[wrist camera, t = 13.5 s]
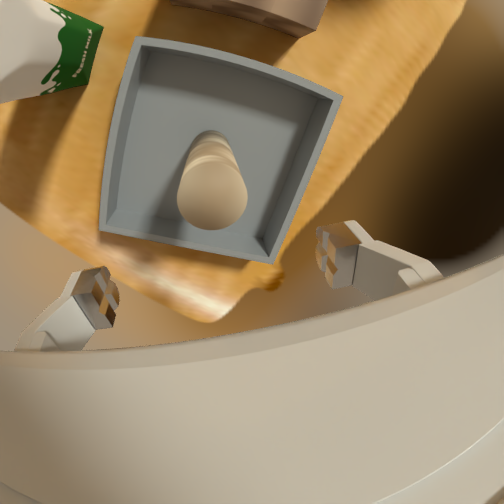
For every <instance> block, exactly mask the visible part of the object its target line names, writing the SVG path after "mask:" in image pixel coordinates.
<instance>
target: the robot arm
mask: <svg viewBox="0 0 504 504" xmlns="http://www.w3.org/2000/svg"><path fill="white" fill-rule="evenodd" d="M316 237H317V239H318V240H319V243H318V245H317V246H316V258H317V262H318V265H319V267H320V269H321V270H322V271H324V272H326V275H325V278H326V280H327V282H328V283H329V285H330V287H331V289H336V288H341V287H345V286H350V285H353V287H355V288H356V289H358V290H359V291H361V292H362V293H364V294H366V295H367V296H369V297H370V298H372V299H373V300H375V301H372V302H368V303H365V304H361V305H358V306H354V307H351V308H347V309H343V310H339V311H336V312H332V313H328V314H324V315H320V316H316V317H311V318H307V319H303V320H298V321H294V322H289V323H285V324H281V325H276V326H271V327H265V328H261V329H255V330H250V331H245V332H239V333H234V334H228V335H222V336H216V337H210V338H203V339H197V340H190V341H183V342H175V343H167V344H159V345H149V346H139V347H129V348H117V349H103V350H86V351H81V350H82V349H83V347H84V346H85V344H86V343H87V342H88V340H89V339H90V337H91V336H92V335H93V333H94V332H95V330H97V329H103V328H110V327H113V324H114V320H115V316H116V314H115V312H114V310H115V309H116V308H117V307H118V305H119V292H118V288H117V286H116V284H115V283H114V282H113V281H111V280H110V275H111V274H110V272H109V270H108V269H107V267H105V266H101V267H95V268H90V269H84V270H79V271H75V272H73V273H72V274H71V276H70V278H69V280H68V282H67V284H66V286H65V288H64V290H63V292H62V295H61V296H60V298H57V299H56V300H55V301H54V302H52V303H51V304H50V305H49V306H48V307H47V308H46V309H45V310H44V311H43V312H42V313H41V314H40V315H39V316H38V317H37V318H35V320H33V321H32V322H31V323H30V324H29V325H28V326H27V327H26V328H25V329H24V330H23V331H22V333H21V335H20V337H19V340H18V342H17V344H16V347H15V349H14V351H0V504H504V255H500V256H497V257H495V258H493V259H491V260H488V261H486V262H484V263H481V264H479V265H476V266H474V267H471V268H469V269H466V270H464V271H461V272H459V273H456V274H454V275H451V276H448V277H445V278H444V276H443V275H442V274H441V273H440V272H439V271H438V270H437V269H436V268H435V267H434V265H433V264H432V263H430V261H428V260H425V259H423V258H421V257H418V256H416V255H413V254H411V253H408V252H406V251H404V250H401V249H399V248H396V247H393V246H391V245H388V244H386V243H383V242H380V241H374V240H373V239H372V238H371V237H370V236H369V235H368V234H367V232H366V231H365V230H364V229H363V228H362V227H361V226H360V225H359V224H358V223H357V222H356V221H354V220H351V221H346V222H342V223H336V224H332V225H326V226H321V227H317V231H316Z"/></svg>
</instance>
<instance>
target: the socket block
mask: <svg viewBox="0 0 504 504" xmlns="http://www.w3.org/2000/svg"><path fill="white" fill-rule="evenodd" d="M327 2H328V0H170V3H171V5H178V6H185V7H191V8H197V9H202V10H207V11H212V12H217V13H221V14H225V15H229V16H233V17H237V18H241V19H244V20H248V21H251V22H254V23H258V24H261V25H264V26H267V27H270V28H273V29H275V30H278V31H281V32H284V33H286V34H289V35H291V36H294V37H296V38H301V37H303V36H305V35H307V34H309V33H312V32H314V31H316V29H317V27H318V24H319V22H320V19H321V17H322V14H323V12H324V9H325V7H326V4H327Z"/></svg>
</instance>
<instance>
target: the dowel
mask: <svg viewBox="0 0 504 504" xmlns="http://www.w3.org/2000/svg"><path fill="white" fill-rule="evenodd" d="M247 199H248V196H247V189H246V186H245V184H244V181H243V178H242V176H241V173H240V171H239V168H238V165H237V163H236V160H235V158H234V155H233V152H232V150H231V147H230V145H229V142H228V140H227V138H226V137H225V136H224V135H223V134H222V133H220V132H218V131H213V130H209V131H204V132H202V133H200V134H199V135H197V136H196V137H195V139H194V140H193V142H192V145H191V148H190V151H189V155H188V158H187V161H186V164H185V168H184V171H183V174H182V178H181V181H180V185H179V189H178V192H177V204H178V208H179V211H180V213H181V215H182V216H183V217H184V219H185V220H186V221H187V222H189V223H190V224H191V225H193V226H195V227H197V228H200V229H203V230H219V229H223V228H226V227H228V226H230V225H232V224H233V223H235V222H236V221H237V220H238V219H239V218H240V217H241V215H242V214H243V212H244V210H245V208H246V205H247Z"/></svg>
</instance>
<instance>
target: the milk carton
mask: <svg viewBox="0 0 504 504" xmlns="http://www.w3.org/2000/svg"><path fill="white" fill-rule="evenodd" d="M103 28H104V27H103V26H101V25H99V24H96V23H94V22H92V21H90V20H88V19H85V18H83V17H81V16H79V15H76V14H74V13H72V12H69V11H67V10H65V9H63V8H60V7H58V6H55V5H53V4H50V3H48V2H45V1H42V0H0V104H1V103H5V102H9V101H14V100H18V99H23V98H29V97H34V96H40V95H44V94H49V93H53V92H57V91H60V90H64V89H68V88H72V87H77V86H81V85H86V84H88V83H89V78H90V74H91V69H92V65H93V61H94V58H95V54H96V50H97V47H98V43H99V40H100V37H101V34H102V31H103Z"/></svg>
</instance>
